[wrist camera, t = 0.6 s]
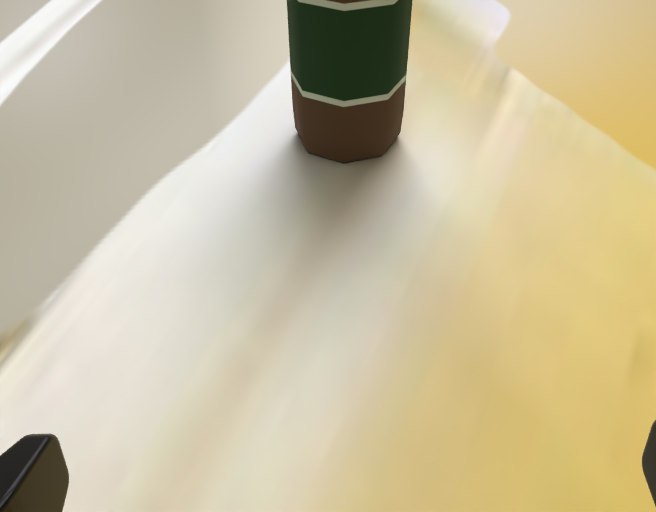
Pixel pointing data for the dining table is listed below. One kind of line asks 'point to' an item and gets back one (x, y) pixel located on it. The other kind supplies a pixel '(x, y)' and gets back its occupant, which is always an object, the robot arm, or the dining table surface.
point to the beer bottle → (348, 74)
